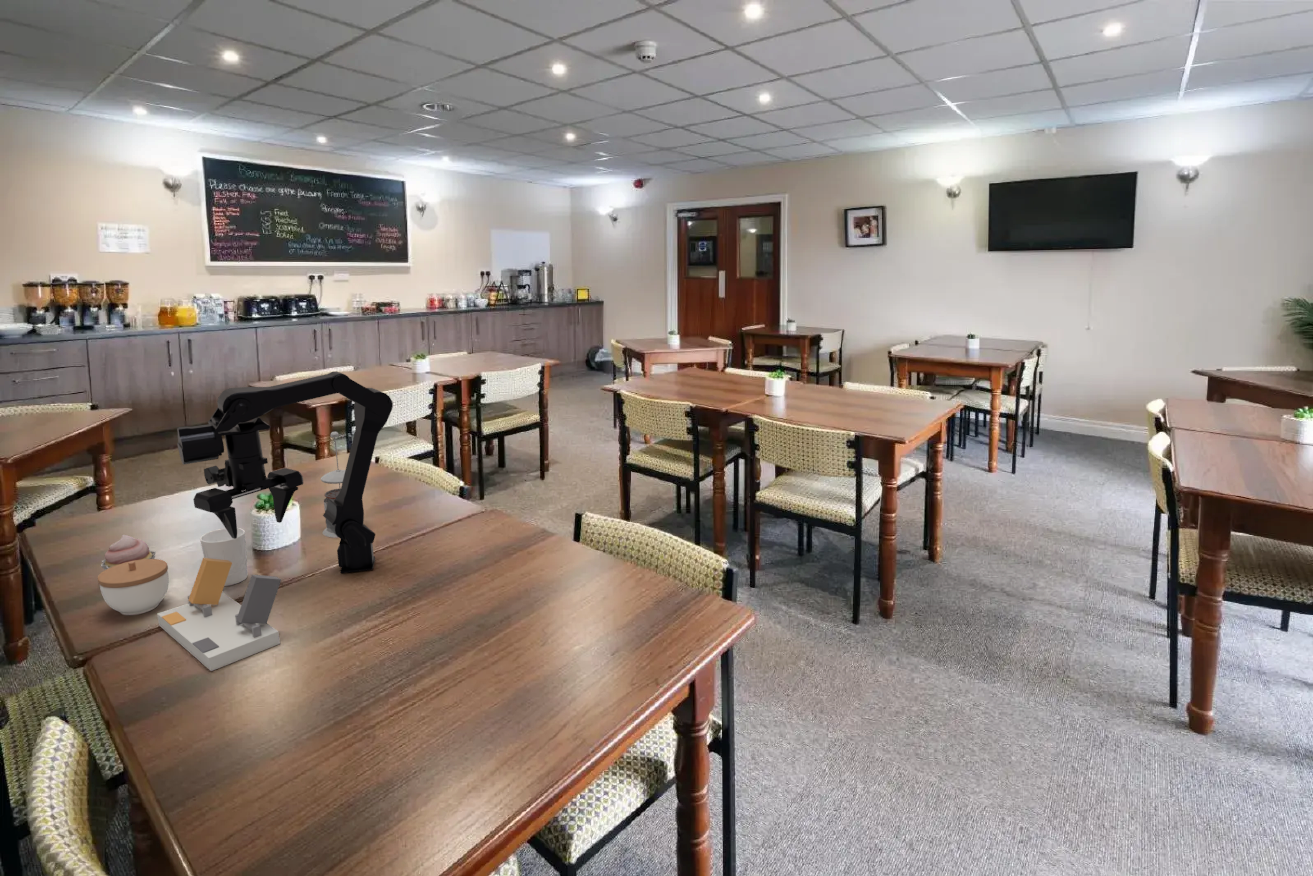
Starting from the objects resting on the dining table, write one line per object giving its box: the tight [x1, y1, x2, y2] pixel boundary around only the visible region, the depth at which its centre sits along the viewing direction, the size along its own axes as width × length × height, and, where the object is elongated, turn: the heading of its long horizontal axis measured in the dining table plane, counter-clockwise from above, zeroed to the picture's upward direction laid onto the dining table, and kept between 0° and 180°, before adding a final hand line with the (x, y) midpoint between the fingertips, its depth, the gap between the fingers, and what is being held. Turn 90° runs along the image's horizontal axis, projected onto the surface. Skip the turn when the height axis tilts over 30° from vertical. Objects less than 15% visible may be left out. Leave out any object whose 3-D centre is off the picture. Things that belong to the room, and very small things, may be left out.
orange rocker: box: [187, 557, 232, 611], centre depth 130 cm, size 4×5×9 cm
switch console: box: [156, 591, 281, 672], centre depth 126 cm, size 11×23×4 cm, turn 52°
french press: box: [320, 431, 346, 539], centre depth 172 cm, size 10×12×25 cm
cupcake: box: [100, 534, 157, 571], centre depth 145 cm, size 9×9×10 cm
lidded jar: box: [97, 558, 170, 616], centre depth 134 cm, size 11×11×9 cm
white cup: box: [199, 527, 249, 587], centre depth 146 cm, size 8×8×10 cm
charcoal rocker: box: [237, 574, 282, 631], centre depth 124 cm, size 4×5×9 cm
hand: (257, 529), depth 140 cm, fingers open, 9 cm apart
